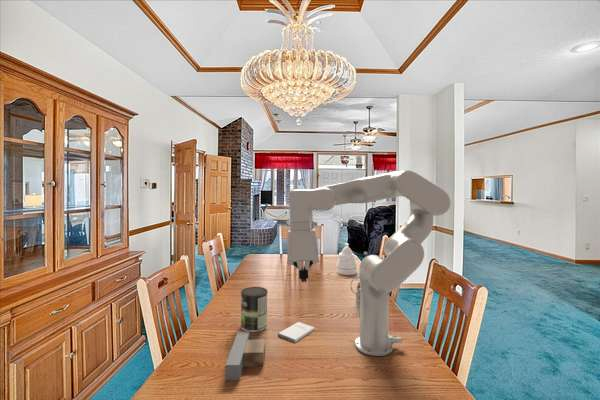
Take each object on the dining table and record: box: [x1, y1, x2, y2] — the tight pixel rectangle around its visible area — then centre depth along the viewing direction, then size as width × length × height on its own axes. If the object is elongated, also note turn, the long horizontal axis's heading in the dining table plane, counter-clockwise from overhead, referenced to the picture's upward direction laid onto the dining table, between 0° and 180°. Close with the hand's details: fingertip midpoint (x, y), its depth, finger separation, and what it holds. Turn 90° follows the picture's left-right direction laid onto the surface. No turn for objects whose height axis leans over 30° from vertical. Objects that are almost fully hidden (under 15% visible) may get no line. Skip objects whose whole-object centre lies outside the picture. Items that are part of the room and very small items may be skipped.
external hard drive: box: [277, 321, 316, 343], centre depth 117 cm, size 2×8×12 cm
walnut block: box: [243, 339, 266, 367], centre depth 99 cm, size 6×8×4 cm
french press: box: [350, 251, 369, 309], centre depth 144 cm, size 10×12×25 cm
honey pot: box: [336, 242, 358, 276], centre depth 200 cm, size 13×13×18 cm
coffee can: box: [240, 286, 269, 333], centre depth 121 cm, size 10×10×14 cm
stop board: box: [224, 331, 250, 381], centre depth 98 cm, size 4×20×4 cm, turn 1°
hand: (303, 280), depth 104 cm, fingers closed
